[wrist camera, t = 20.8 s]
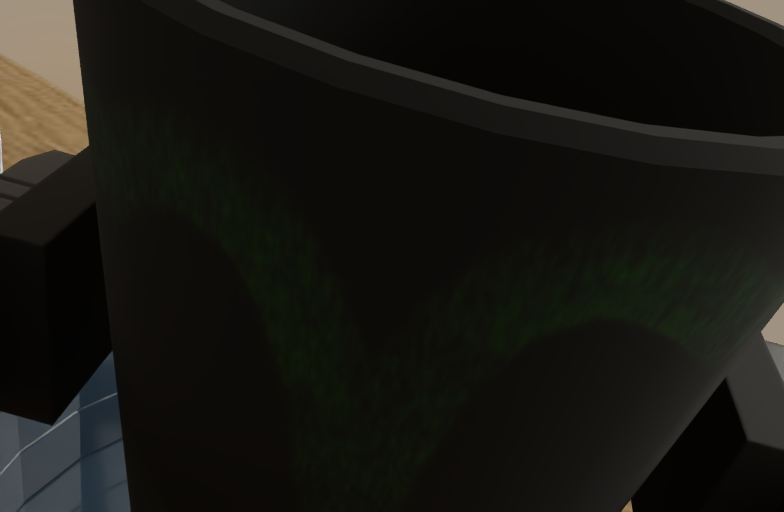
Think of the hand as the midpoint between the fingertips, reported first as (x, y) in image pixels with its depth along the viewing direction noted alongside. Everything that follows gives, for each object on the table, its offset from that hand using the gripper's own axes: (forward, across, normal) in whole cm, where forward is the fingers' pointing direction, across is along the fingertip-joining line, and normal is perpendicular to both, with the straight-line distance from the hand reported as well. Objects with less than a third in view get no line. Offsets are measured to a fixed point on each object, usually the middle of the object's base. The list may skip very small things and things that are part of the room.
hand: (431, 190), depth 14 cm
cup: (-5, 0, -7) cm, 9 cm away
